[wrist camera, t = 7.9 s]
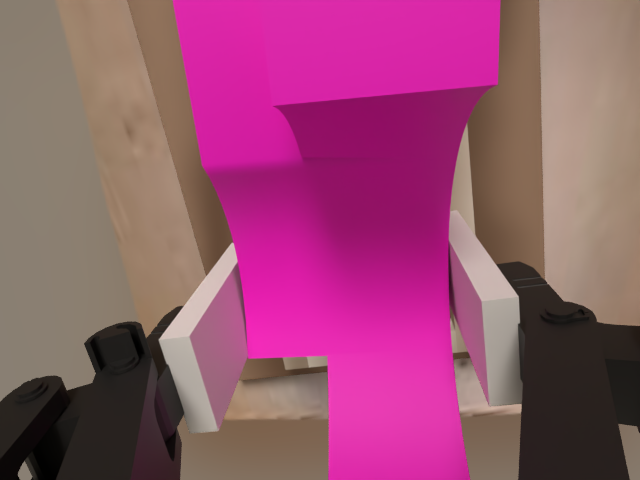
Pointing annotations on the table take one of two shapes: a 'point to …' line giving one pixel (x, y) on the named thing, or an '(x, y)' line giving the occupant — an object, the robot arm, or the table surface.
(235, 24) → the toy block
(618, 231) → the table surface
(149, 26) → the locating board
